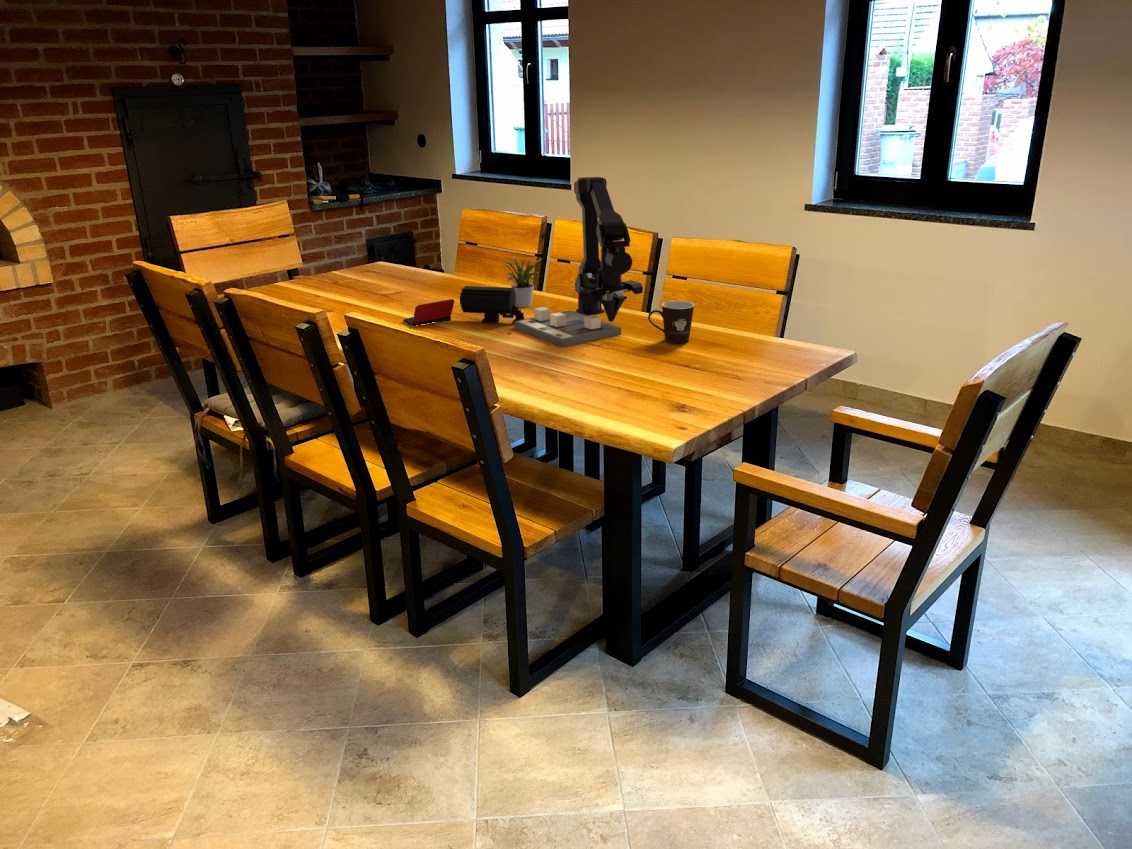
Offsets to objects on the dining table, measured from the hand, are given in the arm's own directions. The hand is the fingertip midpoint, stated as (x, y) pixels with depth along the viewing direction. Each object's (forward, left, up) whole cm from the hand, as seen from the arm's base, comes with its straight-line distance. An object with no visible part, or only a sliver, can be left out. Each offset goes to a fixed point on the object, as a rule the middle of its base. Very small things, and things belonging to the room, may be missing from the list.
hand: (611, 321), depth 254 cm
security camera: (+21, -29, -3) cm, 36 cm away
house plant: (+4, -41, -3) cm, 41 cm away
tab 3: (+6, 0, -1) cm, 7 cm away
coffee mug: (-8, +17, -3) cm, 19 cm away
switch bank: (+9, -8, -3) cm, 13 cm away
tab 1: (+12, -16, -1) cm, 20 cm away
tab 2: (+13, -8, -1) cm, 15 cm away
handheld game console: (+36, -41, -3) cm, 54 cm away
